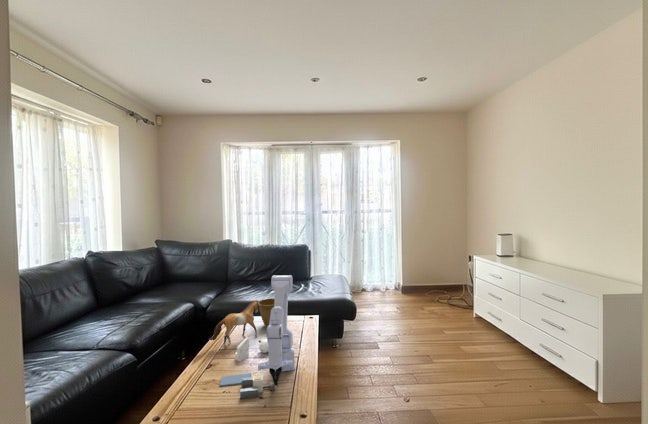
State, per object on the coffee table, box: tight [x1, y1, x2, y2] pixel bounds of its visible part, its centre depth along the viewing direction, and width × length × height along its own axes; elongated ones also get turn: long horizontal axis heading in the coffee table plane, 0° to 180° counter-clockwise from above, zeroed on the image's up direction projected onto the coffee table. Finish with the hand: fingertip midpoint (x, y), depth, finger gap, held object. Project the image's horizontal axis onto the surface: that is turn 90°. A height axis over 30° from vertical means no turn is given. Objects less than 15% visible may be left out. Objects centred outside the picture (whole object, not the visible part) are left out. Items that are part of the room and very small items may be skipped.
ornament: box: [258, 338, 268, 354], centre depth 161 cm, size 6×7×7 cm
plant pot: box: [257, 297, 275, 328], centre depth 198 cm, size 15×15×16 cm
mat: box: [219, 372, 252, 388], centre depth 134 cm, size 13×7×1 cm, turn 101°
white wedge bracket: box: [234, 336, 250, 362], centre depth 155 cm, size 4×10×9 cm, turn 141°
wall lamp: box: [252, 374, 275, 393], centre depth 128 cm, size 9×4×5 cm, turn 100°
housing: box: [239, 376, 259, 400], centre depth 126 cm, size 7×10×3 cm
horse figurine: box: [208, 300, 260, 350], centre depth 174 cm, size 31×8×21 cm, turn 134°
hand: (275, 384), depth 128 cm, fingers closed
